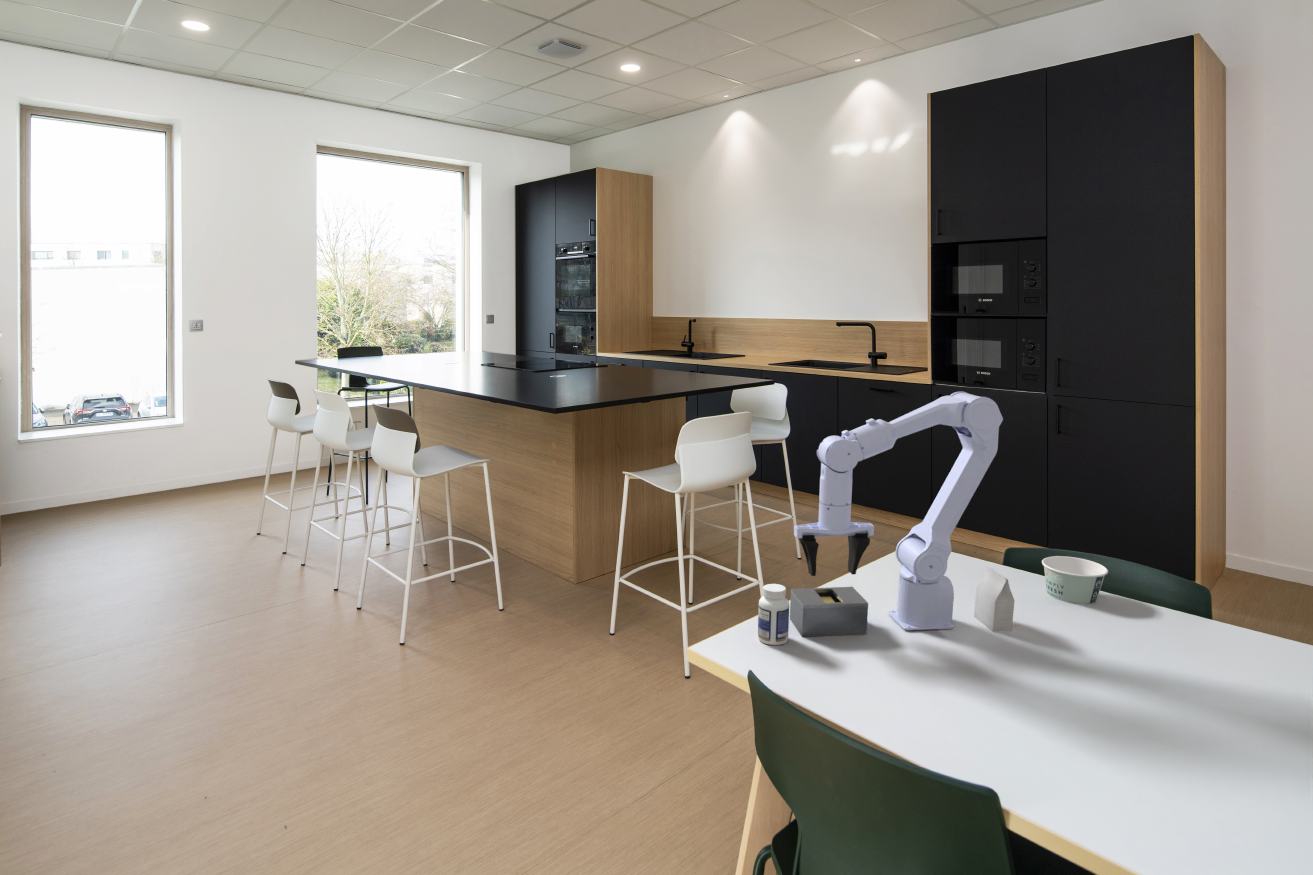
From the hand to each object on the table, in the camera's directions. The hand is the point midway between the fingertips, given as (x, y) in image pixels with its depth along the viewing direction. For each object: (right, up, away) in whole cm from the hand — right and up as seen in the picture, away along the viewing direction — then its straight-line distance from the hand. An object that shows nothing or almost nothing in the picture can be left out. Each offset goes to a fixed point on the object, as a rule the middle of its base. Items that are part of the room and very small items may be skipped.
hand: (832, 573), depth 140 cm
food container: (+53, -8, +16) cm, 56 cm away
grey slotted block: (-1, -10, 0) cm, 10 cm away
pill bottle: (-12, -11, -5) cm, 17 cm away
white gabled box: (+31, -10, +2) cm, 32 cm away
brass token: (-1, -10, 0) cm, 10 cm away
